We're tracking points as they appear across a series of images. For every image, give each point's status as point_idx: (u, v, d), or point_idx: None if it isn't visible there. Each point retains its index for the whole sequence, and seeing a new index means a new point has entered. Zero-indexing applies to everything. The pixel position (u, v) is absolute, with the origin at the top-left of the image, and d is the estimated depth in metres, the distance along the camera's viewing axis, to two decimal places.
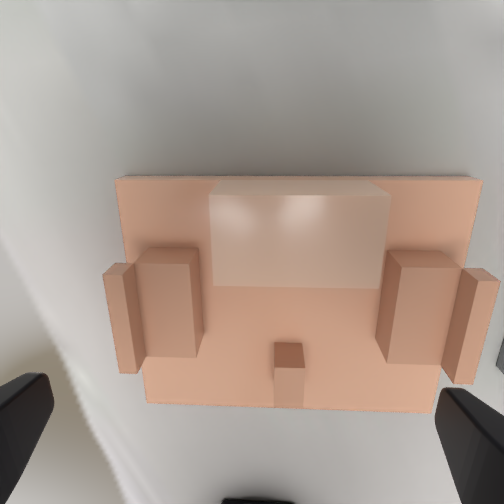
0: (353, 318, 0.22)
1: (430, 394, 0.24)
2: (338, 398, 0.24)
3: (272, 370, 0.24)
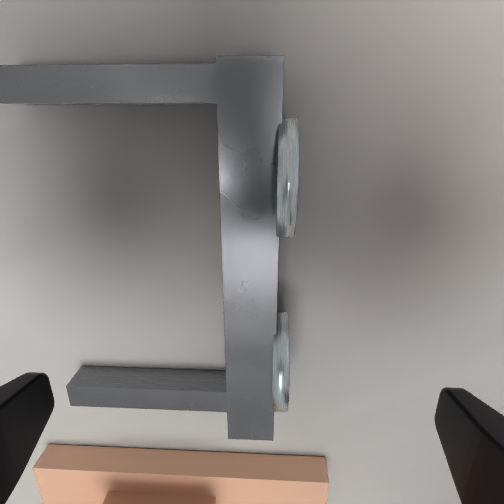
0: None
1: (296, 485, 0.19)
2: None
3: None
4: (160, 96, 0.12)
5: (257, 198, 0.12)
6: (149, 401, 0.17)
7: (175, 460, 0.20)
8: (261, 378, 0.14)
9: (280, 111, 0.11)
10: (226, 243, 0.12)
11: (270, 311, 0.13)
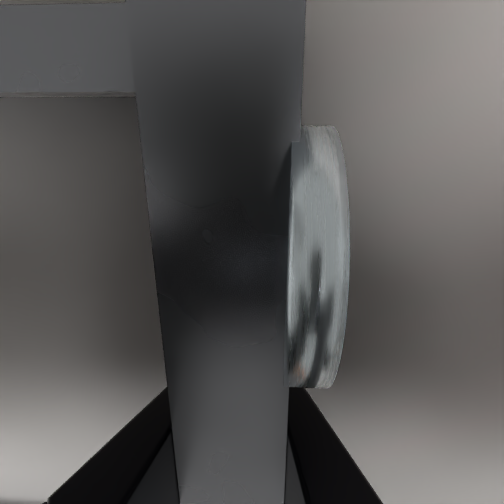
0: None
1: None
2: None
3: None
4: (34, 78, 0.06)
5: (241, 305, 0.05)
6: None
7: None
8: None
9: (296, 109, 0.04)
10: (178, 389, 0.06)
11: None
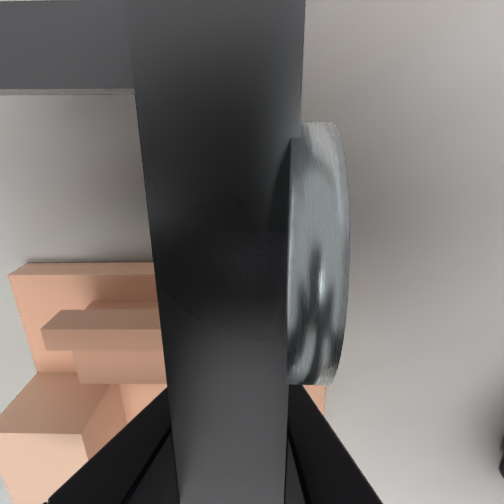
0: None
1: None
2: None
3: None
4: (33, 75, 0.06)
5: (241, 303, 0.05)
6: None
7: None
8: None
9: (295, 105, 0.04)
10: (177, 387, 0.06)
11: None
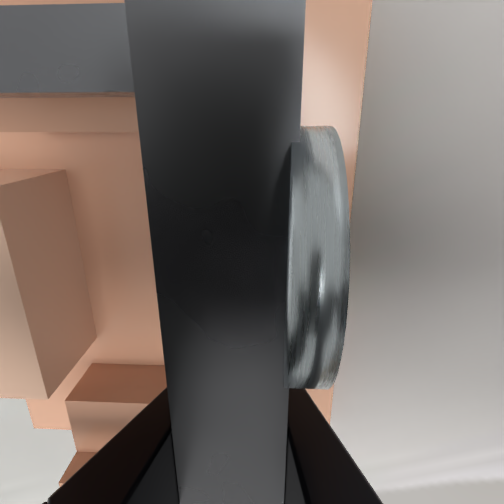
0: None
1: None
2: None
3: None
4: (33, 78, 0.06)
5: (241, 306, 0.05)
6: None
7: None
8: None
9: (296, 110, 0.04)
10: (177, 390, 0.06)
11: None
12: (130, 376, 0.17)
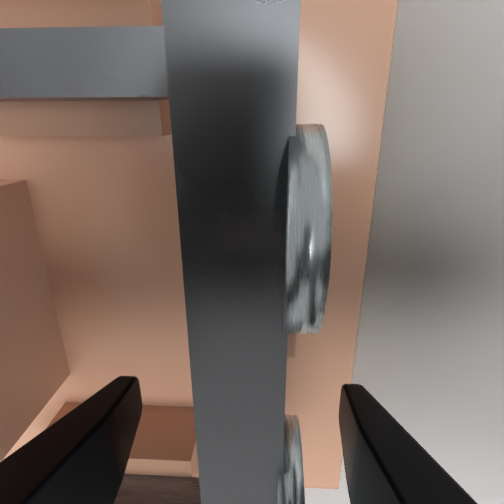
0: (146, 180, 0.12)
1: None
2: (342, 194, 0.11)
3: None
4: (79, 86, 0.07)
5: (249, 268, 0.07)
6: None
7: None
8: None
9: (292, 111, 0.06)
10: (196, 340, 0.07)
11: (272, 443, 0.08)
12: None
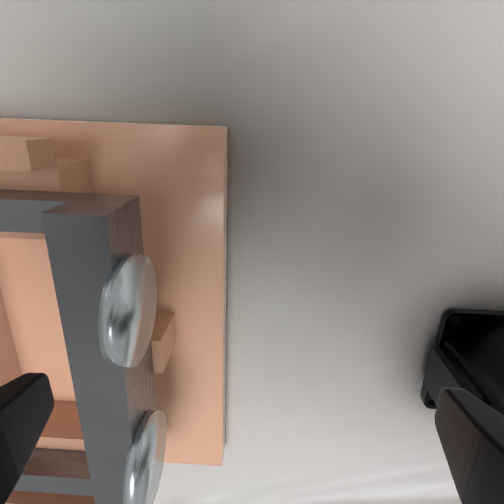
0: None
1: (184, 133, 0.15)
2: (202, 265, 0.17)
3: None
4: (11, 226, 0.13)
5: (98, 331, 0.12)
6: (33, 485, 0.18)
7: (42, 119, 0.16)
8: None
9: (109, 261, 0.11)
10: (74, 367, 0.13)
11: (124, 426, 0.14)
12: None
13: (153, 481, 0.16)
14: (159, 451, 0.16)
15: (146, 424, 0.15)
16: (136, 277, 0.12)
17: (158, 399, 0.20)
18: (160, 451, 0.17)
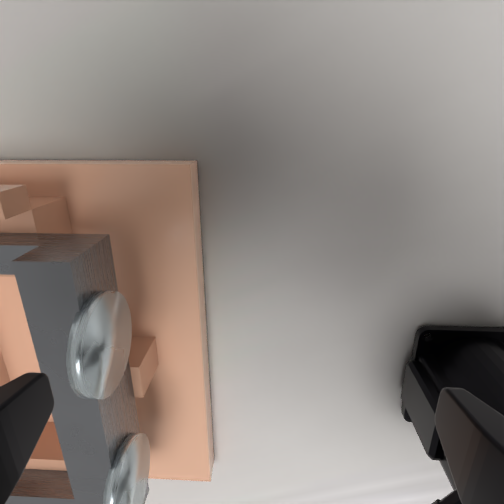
0: None
1: (153, 171, 0.16)
2: (178, 292, 0.18)
3: None
4: None
5: None
6: None
7: (22, 161, 0.17)
8: None
9: (76, 302, 0.12)
10: None
11: (102, 451, 0.15)
12: None
13: (135, 502, 0.16)
14: (141, 472, 0.17)
15: (125, 448, 0.16)
16: (105, 314, 0.13)
17: (145, 419, 0.21)
18: (143, 472, 0.17)
